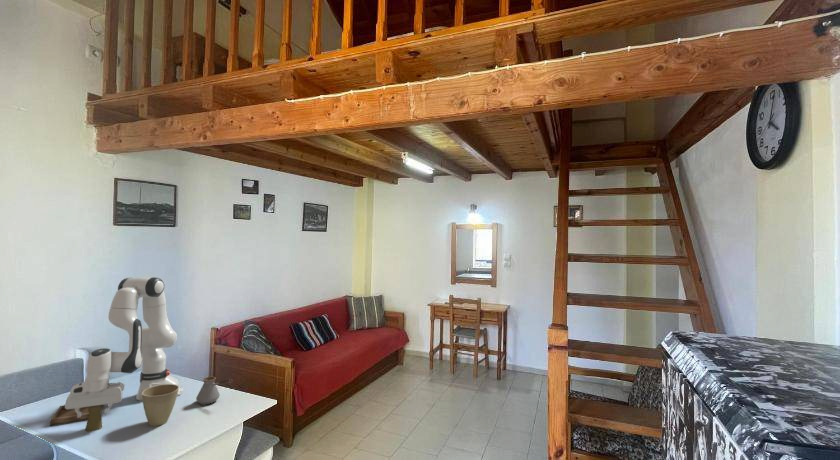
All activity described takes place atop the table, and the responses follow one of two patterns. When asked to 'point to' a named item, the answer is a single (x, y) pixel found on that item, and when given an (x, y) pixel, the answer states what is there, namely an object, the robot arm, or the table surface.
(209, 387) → the coffee pot
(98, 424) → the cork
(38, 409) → the table surface
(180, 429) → the table surface
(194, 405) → the table surface
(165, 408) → the plant pot
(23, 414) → the table surface
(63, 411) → the walnut tray
